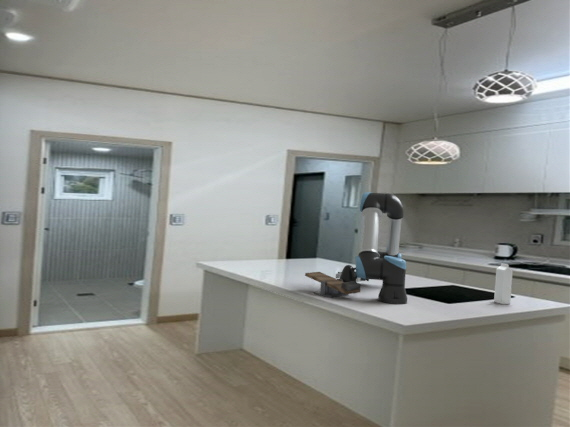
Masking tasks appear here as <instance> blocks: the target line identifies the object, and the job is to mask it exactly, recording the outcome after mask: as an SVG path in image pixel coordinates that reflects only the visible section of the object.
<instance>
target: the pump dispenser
mask: <svg viewBox="0 0 570 427" xmlns="http://www.w3.org/2000/svg"><path fill="white" fill-rule="evenodd" d="M341 272H342V273H341V275H340V278H339V279H343V282H351V281H354V282H357V279H356V274H355V272H356V267H353V265H350V264H346V265H345V266H344V267H343V269H342V270H341ZM357 283H358V282H357Z"/></svg>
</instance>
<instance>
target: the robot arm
mask: <svg viewBox="0 0 570 427" xmlns="http://www.w3.org/2000/svg"><path fill="white" fill-rule="evenodd" d="M404 209H405V208H404V206H403V203H402V202H401V200H400V198H399V197H397V196H396V195H395V194H392V193H389V192H388V193H386V192H385V193H383V192H371V191H370V192H364V193H362V195H361V200H360V206H359V212H360V213H361V214H362V216H363V217H364V220H363V232H362V241H361V243H362V244H361V251H360V252H358V254H357V256H355V268H356V270H355V274H356V280H357V283H359V282H369V281H370V280H375V281H382V285H381V288H380V290H379V293H378V295H377V296H378V297H377V300H378V301H380V302H383V303H386V304H387V303H388V304H396V305H397V304H398V305H400V304H401V305H402V304H407V303H408V295H407V290H406V274H407V273H406V271H407V262H406V261H407V260H405V259H403V258H402V254H401V253H399V251H400V239H401V231H402V230H401V228H402V220H403V218H404V215H405V210H404ZM383 214H386V217H387V218H388V220H387V235H386V244H385V245H386V248H385V251H378V250H379V249H378V248H379V235H380V234H379V230H380V219H381V218H382V217H383ZM341 273H342V271H337V273H335V279H340V275H341Z"/></svg>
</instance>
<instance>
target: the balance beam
mask: <svg viewBox="0 0 570 427" xmlns="http://www.w3.org/2000/svg"><path fill="white" fill-rule="evenodd" d="M304 276H306V277H307V278H310V279H311V280H314V281H315V282H318V283H320V284H321V281H322V280H323V281H327V286H329V287H331V288H333V289H336V290H338V291H340V292H342V293H345V294H348V295H350V294H356V293H357V294H359V293H361V286H362V285H361V284H362V283H359V282H354V281H351V282H342V281H340V280H338V279H339V278H336V277H332V276H330V275H328V274H326V273H323V272H321V271H315V272H314V271H312V272H305V274H304Z"/></svg>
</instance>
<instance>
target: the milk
mask: <svg viewBox="0 0 570 427" xmlns="http://www.w3.org/2000/svg"><path fill="white" fill-rule="evenodd" d="M513 272H514V270H513V269H512V268H510V265H509V264H508V263H503V262H501V263H500V265H499V266H498V267H496V269H495V281H494V282H495V284H494V296H493V297H494V298H493V302H494V303H498V304H500V305H511V298H512V287H513V286H512V285H513V284H512V283H513V274H514V273H513Z"/></svg>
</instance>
